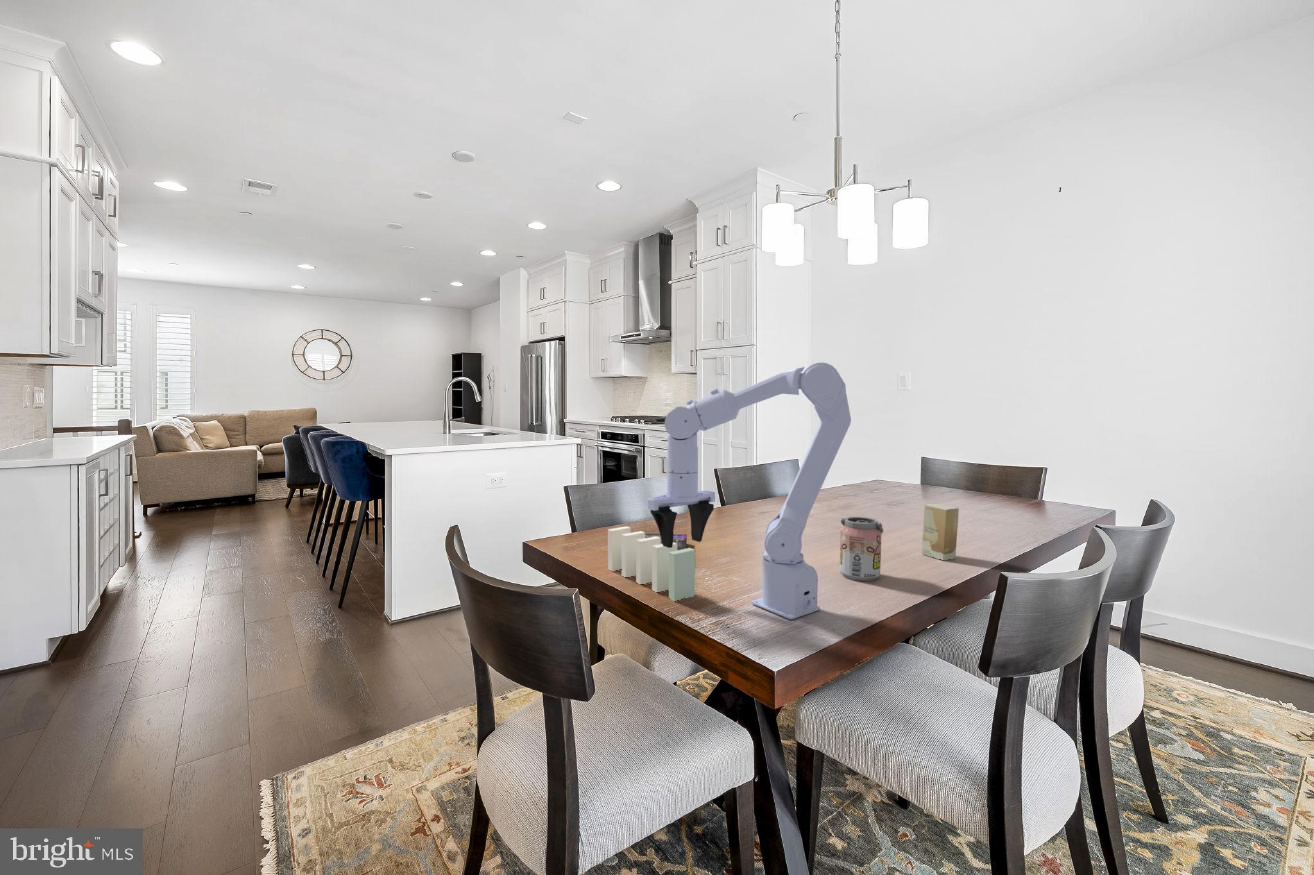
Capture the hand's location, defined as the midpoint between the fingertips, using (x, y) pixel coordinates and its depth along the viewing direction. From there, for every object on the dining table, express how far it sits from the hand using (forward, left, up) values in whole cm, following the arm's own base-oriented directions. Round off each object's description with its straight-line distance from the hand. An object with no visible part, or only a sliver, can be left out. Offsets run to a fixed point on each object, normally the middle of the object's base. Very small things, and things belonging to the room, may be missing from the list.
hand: (682, 543), depth 105 cm
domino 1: (+22, 0, -10) cm, 24 cm away
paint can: (-12, -39, -11) cm, 42 cm away
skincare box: (-15, -66, -11) cm, 69 cm away
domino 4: (+6, 0, -10) cm, 12 cm away
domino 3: (+11, 0, -10) cm, 15 cm away
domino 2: (+17, 0, -10) cm, 20 cm away
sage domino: (0, 0, -10) cm, 10 cm away
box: (+26, -14, -11) cm, 32 cm away
